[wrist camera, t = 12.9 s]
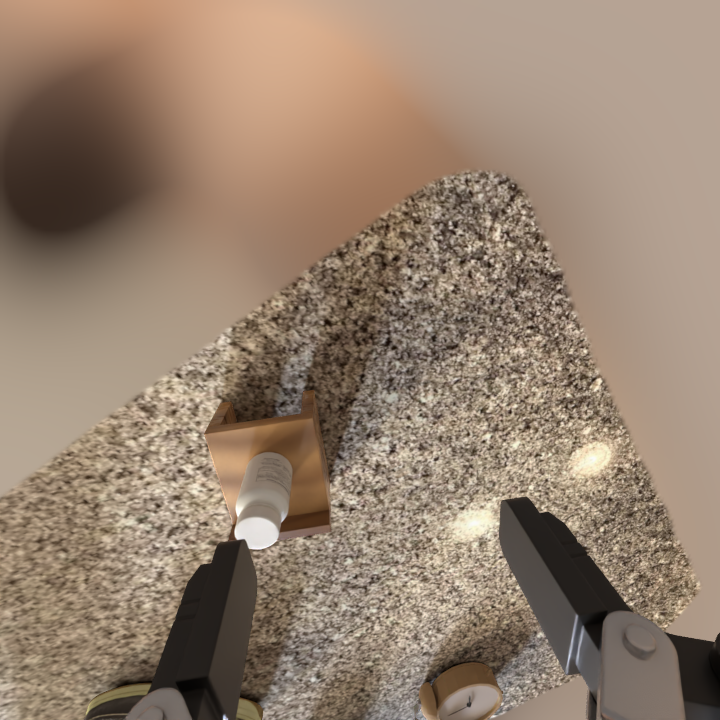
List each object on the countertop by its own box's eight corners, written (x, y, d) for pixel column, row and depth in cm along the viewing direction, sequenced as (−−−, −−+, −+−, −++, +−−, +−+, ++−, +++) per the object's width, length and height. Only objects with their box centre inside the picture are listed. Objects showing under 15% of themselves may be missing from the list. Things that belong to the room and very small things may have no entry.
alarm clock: (511, 708, 61) (433, 759, 60) (494, 676, 66) (420, 723, 64) (493, 672, 57) (408, 726, 56) (476, 640, 62) (397, 690, 60)
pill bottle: (266, 494, 37) (252, 562, 30) (237, 465, 36) (215, 529, 28) (302, 473, 37) (297, 537, 29) (274, 442, 35) (261, 502, 28)
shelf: (220, 402, 40) (196, 446, 32) (314, 389, 40) (312, 429, 33) (245, 491, 44) (230, 548, 37) (329, 478, 45) (331, 532, 37)
